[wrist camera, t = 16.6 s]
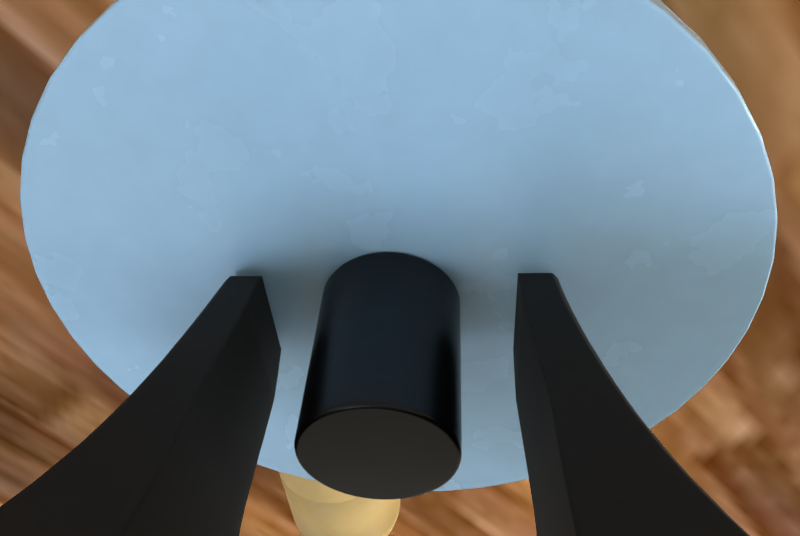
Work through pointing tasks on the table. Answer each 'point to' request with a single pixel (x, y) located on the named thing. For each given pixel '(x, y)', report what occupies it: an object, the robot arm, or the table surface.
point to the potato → (336, 510)
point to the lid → (401, 210)
